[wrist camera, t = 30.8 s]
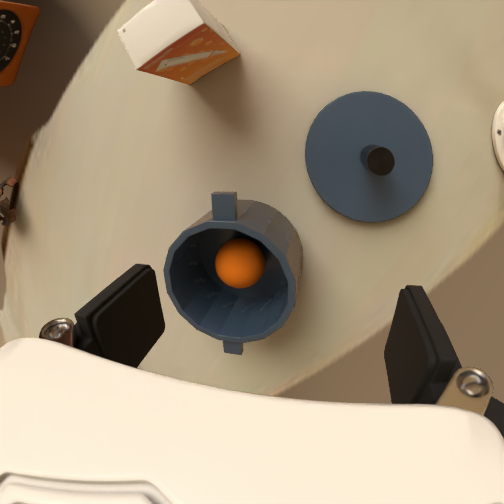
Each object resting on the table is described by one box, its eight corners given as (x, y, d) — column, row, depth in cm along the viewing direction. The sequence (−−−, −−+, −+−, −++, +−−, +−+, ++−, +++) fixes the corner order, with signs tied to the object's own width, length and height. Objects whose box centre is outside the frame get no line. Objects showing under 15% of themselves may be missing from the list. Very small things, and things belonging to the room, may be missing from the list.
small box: (190, 86, 34) (134, 71, 22) (171, 52, 33) (114, 30, 21) (242, 55, 31) (205, 22, 20) (220, 21, 30) (178, -18, 18)
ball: (270, 233, 39) (257, 251, 33) (270, 277, 41) (257, 300, 36) (224, 230, 41) (204, 246, 35) (226, 272, 43) (209, 293, 37)
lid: (430, 101, 28) (451, 96, 22) (423, 224, 34) (440, 242, 28) (304, 88, 32) (301, 79, 26) (304, 215, 38) (301, 231, 32)
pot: (304, 181, 36) (298, 197, 27) (298, 319, 44) (290, 364, 35) (190, 179, 39) (153, 195, 30) (203, 309, 47) (177, 347, 38)
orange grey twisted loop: (25, 179, 47) (4, 208, 42) (33, 207, 55) (16, 234, 50) (-8, 167, 45) (-28, 193, 40) (2, 194, 52) (-16, 219, 47)
